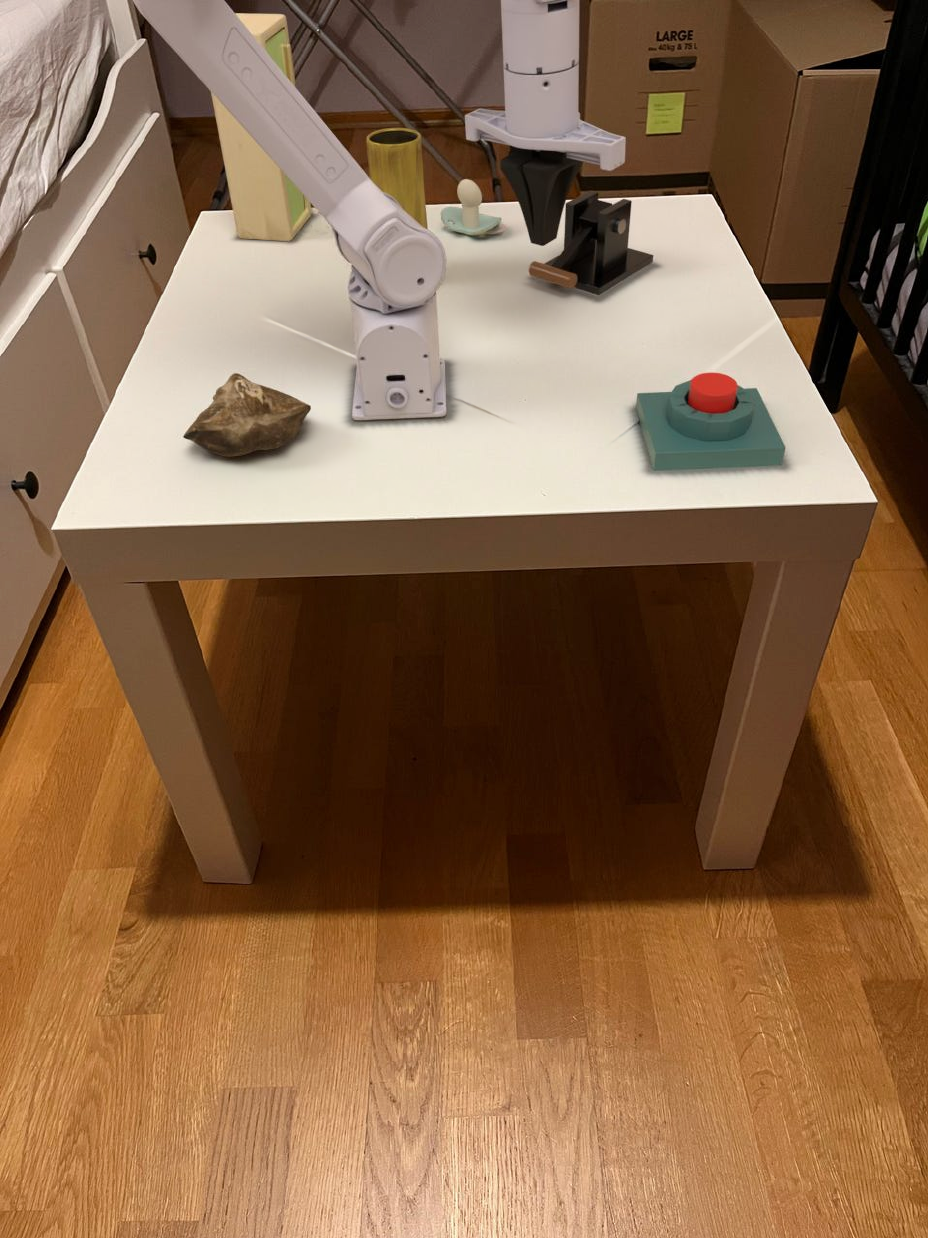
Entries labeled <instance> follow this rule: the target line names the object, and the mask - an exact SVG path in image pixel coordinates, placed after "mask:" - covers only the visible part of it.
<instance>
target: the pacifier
mask: <svg viewBox="0 0 928 1238" xmlns="http://www.w3.org/2000/svg"><path fill="white" fill-rule="evenodd" d="M456 193H457V198H458V200H459V201H460V203H461V207H459V206H447V207H444V208H442V209H441V211H440V220H441V222H442V224H443V225H444V226H445V227H446V228H448V229H449V230H450V231H453V232H457V233H460V234H464V235H467V236H475V237H476V236H477V237H479V236H480V237H481V236H485V235H497V234H501V233H504V232H505V230H506V225H505V224H504V223H503V222H502V217H501V216H499V217H498V216H493V215H487V214H483V213H480V211H479V207H480V205H481V204H482V202H483V194H482V192H481V189H480V187H479V186H478V184H477V183H476V182H474V181H473V180H472V179H468V178H464V179H462V180H460V182H459V183H458V185H457V191H456Z"/></svg>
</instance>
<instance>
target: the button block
mask: <svg viewBox="0 0 928 1238" xmlns="http://www.w3.org/2000/svg"><path fill="white" fill-rule="evenodd" d="M691 380H692V379H689V380H687V381H684V382H682V383H679V384H676V385H675V386H674V387H673V389H672V390H671V391H656V392H654V391H653V392H637V394H636V401H635V402H636V403H635V407H636V411H637V414H638V418H639V420H638V423H639V427H640V430H641V433H642V436H643V440H644V443H645V447H646V450H647V453H648V456H649V460H650V463H651V466H652V467H651V468H652V470H653V472H657V471H658V472H659V471H679V470H681V471H684V470H705V469H706V470H707V469H728V468H730V469H731V468H749V467H750V468H751V467H772V466H773V467H774V466H776V467H777V466H782V465H783V460H784V456H785V452H786V445H785V443H784V442H783V439H782V438H781V435H780V433H779V431H778V429H777V427H776V425H775V423H774V421H773V419H772V417H771V415H770V413H769V411H768V408H767V405H766V404H765V403H764V400H763V398H762V396H761V394H760V392H759V390H758V388H757V387H750V388H749V387H748V388H746V387H745V388H744V387H743V386H741V385H739V384H737V385H738V388H737V393H736V399H735V404H734V408H733V409H732V410H731V411H729V412H726V413H718V414H710V413H705V412H701V411H697V410H695V409H693V408H692V407H690V406H689V404H688V397H689V390H690V383H691Z"/></svg>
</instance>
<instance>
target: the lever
mask: <svg viewBox="0 0 928 1238" xmlns="http://www.w3.org/2000/svg"><path fill="white" fill-rule="evenodd" d="M611 205H613V203H612V202H608V201H605V200H600V199H598V200H597V199H594V200H593V201H592V202H591V204H590V205H589V206H588V207H587V208H586V210H585V211H584V212H583V213H582V215H581V216H580V217H579V219H580V224H581V230H580V231H579V232H578V233H577V235H576V236H575V237H574V238H573V239H572V241H571V242H570V243H569V244H568V246H567V247H566V248H565V249H564V248H563V250H562V251H561V252H560V254H559V255H558V256H559V257H558V258H557V259H556V260H555V261H554V263H553V264H552V265H551V266H549V265H546V264H544V263H542V262H539V261H536V260H535V261H532V262H531V263H530V264H529V266H528V274H529V276H531V277H533V278H536V279H539V280H542V281H546V282H549V283H552V284H554V285H558V286H561V287H563V288H566V289H575V288H574V287H575V285H576V283H577V275H576V274H574V273H571V272H568V271H566V269H567V268H568V267H569V266H570V265H571V263H572V262H573V261H574V260H575V258H576V257H577V256H578V255H579V253H580V252H581V251H582V250H583V249H584V247H585V246H586V245H587V244H588V242H589V241H590V240H591V239H595V240H597V230H598V214H599V212H600V211H602V210H604V209H605V208H607V207H609V206H611Z"/></svg>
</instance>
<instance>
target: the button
mask: <svg viewBox="0 0 928 1238" xmlns="http://www.w3.org/2000/svg"><path fill="white" fill-rule="evenodd" d="M690 380H691V383H690V390H689V397H688V404H689V406H690V407H692V408H693V409H695V410H697V411H701V412H705V413H710V414H718V413H726V412H729V411H731V410H732V409H733V408H734V404H735V399H736V393H737V388H738V385H739V384H738V383H737V381H736V380H735V378H733V377H731V376H729V375H727V374H724V373H720V372H711V371H710V372H703V373H698V374H697V375H694V376H693V377H692V378H691V379H690Z"/></svg>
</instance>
